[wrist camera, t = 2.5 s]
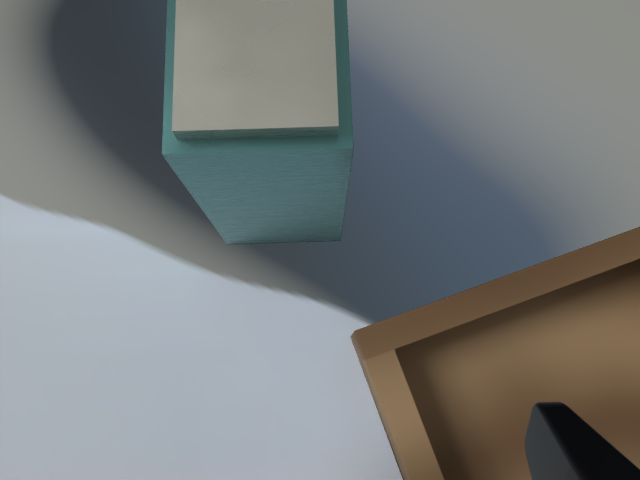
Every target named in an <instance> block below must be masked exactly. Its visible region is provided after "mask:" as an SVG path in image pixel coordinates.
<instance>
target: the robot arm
mask: <svg viewBox="0 0 640 480" xmlns="http://www.w3.org/2000/svg"><path fill="white" fill-rule="evenodd" d="M524 445H525V454H526V458H527V462H528V466H529V470H530V474H531V478H532V480H640V469H639V468H638V467H637V466H636V465H634V464H633V463H632V462H631V461H630V460H629V459H628V458H626V457H625V456H624V455H623V454H622V453H621V452H620V451H618V450H617V449H616V448H615V447H614V446H613V445H612V444H611V443H609V442H608V441H607V440H606V439H605V438H604V437H603V436H601V435H600V434H599V433H598V432H597V431H596V430H595V429H593V428H592V427H591V426H590V425H589V424H588V423H587V422H585V421H584V420H583V419H582V418H581V417H580V416H579V415H577V414H576V413H575V412H574V411H573V410H572V409H571V408H569V407H568V406H567V405H566V404H564V403H562V402H538V403H536V404H535V405H534V406H533V408H532V411H531V415H530V419H529V423H528V427H527V431H526V435H525V441H524Z"/></svg>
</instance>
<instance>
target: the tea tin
mask: <svg viewBox="0 0 640 480" xmlns="http://www.w3.org/2000/svg"><path fill="white" fill-rule="evenodd" d="M347 21H348V20H347V0H167V26H166V55H165V84H164V112H163V113H164V114H163V140H162V142H163V144H162V155H163V156H164V158H165V159H166V161H167V162H168V163H169V165H170V166H171V167H172V169H173V170H174V171H175V173H176V174H177V175H178V177H179V178H180V180H181V181H182V183H183V184H184V185H185V187H186V188H187V189H188V190H189V192H190V194H191V195H192V196H193V198H194V199H195V200H196V202H197V203H198V205H199V206H200V207H201V209H202V210H203V211H204V213H205V214H206V216H207V217H208V218H209V219H210V221H211V222H212V224H213V225H214V227H215V228H216V229H217V231H218V232H219V233H220V235H221V236H222V238H223V239H224V240H225V242H226V243H227V244H253V243H287V242H317V241H318V242H320V241H340V240H341V234H342V226H343V220H344V213H345V206H346V199H347V191H348V185H349V178H350V171H351V163H352V156H353V149H354V146H353V125H352V105H351V83H350V62H349V42H348V22H347Z"/></svg>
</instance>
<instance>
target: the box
mask: <svg viewBox="0 0 640 480" xmlns="http://www.w3.org/2000/svg"><path fill="white" fill-rule="evenodd" d="M351 339H352V342H353V345H354V347H355V350H356V353H357V355H358V358H359V361H360V364H361V366H362V369H363V372H364V375H365V377H366V380H367V383H368V385H369V388H370V391H371V394H372V396H373V399H374V402H375V404H376V407H377V410H378V413H379V415H380V418H381V421H382V424H383V426H384V429H385V432H386V434H387V437H388V440H389V443H390V445H391V448H392V451H393V453H394V456H395V459H396V462H397V464H398V467H399V470H400V473H401V475H402V478H403V480H532V478H531V474H530V470H529V466H528V462H527V458H526V454H525V445H524V441H525V435H526V431H527V427H528V423H529V419H530V415H531V411H532V408H533V406H534V405H535V404H536V403H538V402H562V403H564V404H566V405H567V406H568V407H569V408H571V409H572V410H573V411H574V412H575V413H576V414H577V415H579V416H580V417H581V418H582V419H583V420H584V421H585V422H587V423H588V424H589V425H590V426H591V427H592V428H593V429H595V430H596V431H597V432H598V433H599V434H600V435H601V436H603V437H604V438H605V439H606V440H607V441H608V442H609V443H611V444H612V445H613V446H614V447H615V448H616V449H617V450H618V451H620V452H621V453H622V454H623V455H624V456H625V457H626V458H628V459H629V460H630V461H631V462H632V463H633V464H634V465H636V466H637V467H638V468H639V469H640V227H638V228H635V229H632V230H630V231H627V232H624V233H622V234H619V235H616V236H613V237H610V238H608V239H605V240H603V241H600V242H597V243H594V244H591V245H589V246H586V247H583V248H580V249H578V250H575V251H572V252H569V253H567V254H564V255H561V256H558V257H556V258H553V259H550V260H548V261H545V262H542V263H540V264H537V265H534V266H531V267H528V268H526V269H523V270H520V271H517V272H515V273H512V274H509V275H506V276H504V277H501V278H498V279H495V280H493V281H490V282H487V283H484V284H482V285H479V286H476V287H474V288H471V289H468V290H465V291H463V292H460V293H458V294H454V295H452V296H449V297H446V298H443V299H441V300H438V301H436V302H432V303H430V304H427V305H424V306H422V307H419V308H416V309H413V310H411V311H408V312H405V313H402V314H400V315H397V316H394V317H391V318H389V319H386V320H383V321H380V322H378V323H375V324H372V325H369V326H367V327H364V328H361V329H359V330H356V331H354V333H353V334H352V335H351Z"/></svg>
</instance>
